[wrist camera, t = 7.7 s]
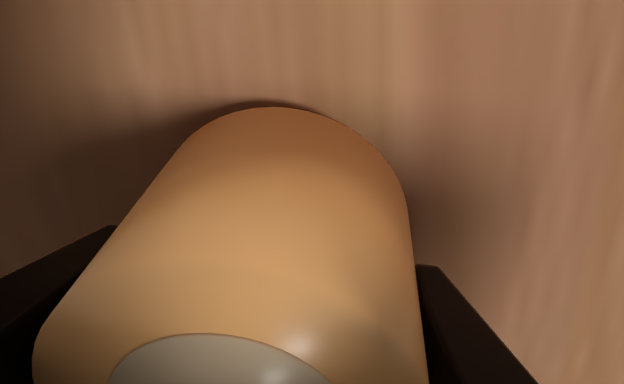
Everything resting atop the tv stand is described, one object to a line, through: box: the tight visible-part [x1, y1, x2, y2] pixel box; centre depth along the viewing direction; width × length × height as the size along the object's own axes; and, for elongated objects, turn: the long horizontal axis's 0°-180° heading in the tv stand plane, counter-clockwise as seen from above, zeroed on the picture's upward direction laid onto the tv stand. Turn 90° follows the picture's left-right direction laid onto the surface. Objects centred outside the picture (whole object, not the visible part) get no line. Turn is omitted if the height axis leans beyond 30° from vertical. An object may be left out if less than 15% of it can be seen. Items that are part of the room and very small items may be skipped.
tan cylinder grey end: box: [32, 107, 429, 384], centre depth 8 cm, size 5×5×5 cm
